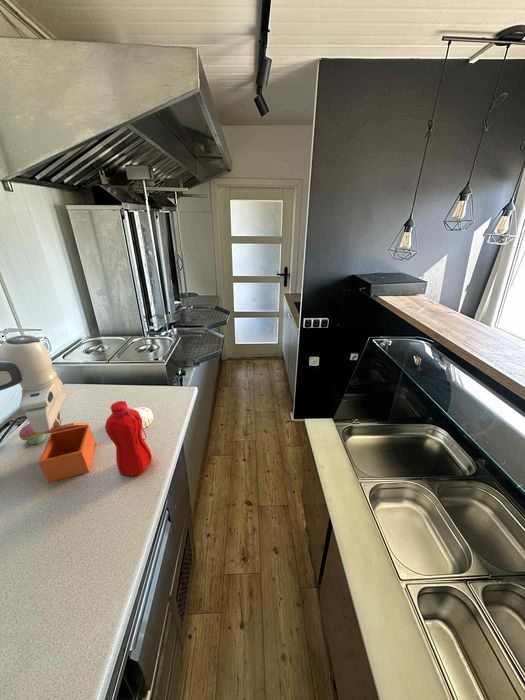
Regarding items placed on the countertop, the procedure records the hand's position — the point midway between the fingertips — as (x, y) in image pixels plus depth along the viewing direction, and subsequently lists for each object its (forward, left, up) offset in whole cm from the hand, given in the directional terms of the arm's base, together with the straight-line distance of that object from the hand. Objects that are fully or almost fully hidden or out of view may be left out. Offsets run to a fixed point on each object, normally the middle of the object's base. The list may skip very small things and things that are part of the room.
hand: (58, 424), depth 91 cm
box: (0, 0, -16) cm, 16 cm away
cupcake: (-15, +17, -16) cm, 28 cm away
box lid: (0, +1, -3) cm, 3 cm away
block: (0, -4, -15) cm, 16 cm away
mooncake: (+20, +14, -16) cm, 29 cm away
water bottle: (+21, -10, -16) cm, 29 cm away
